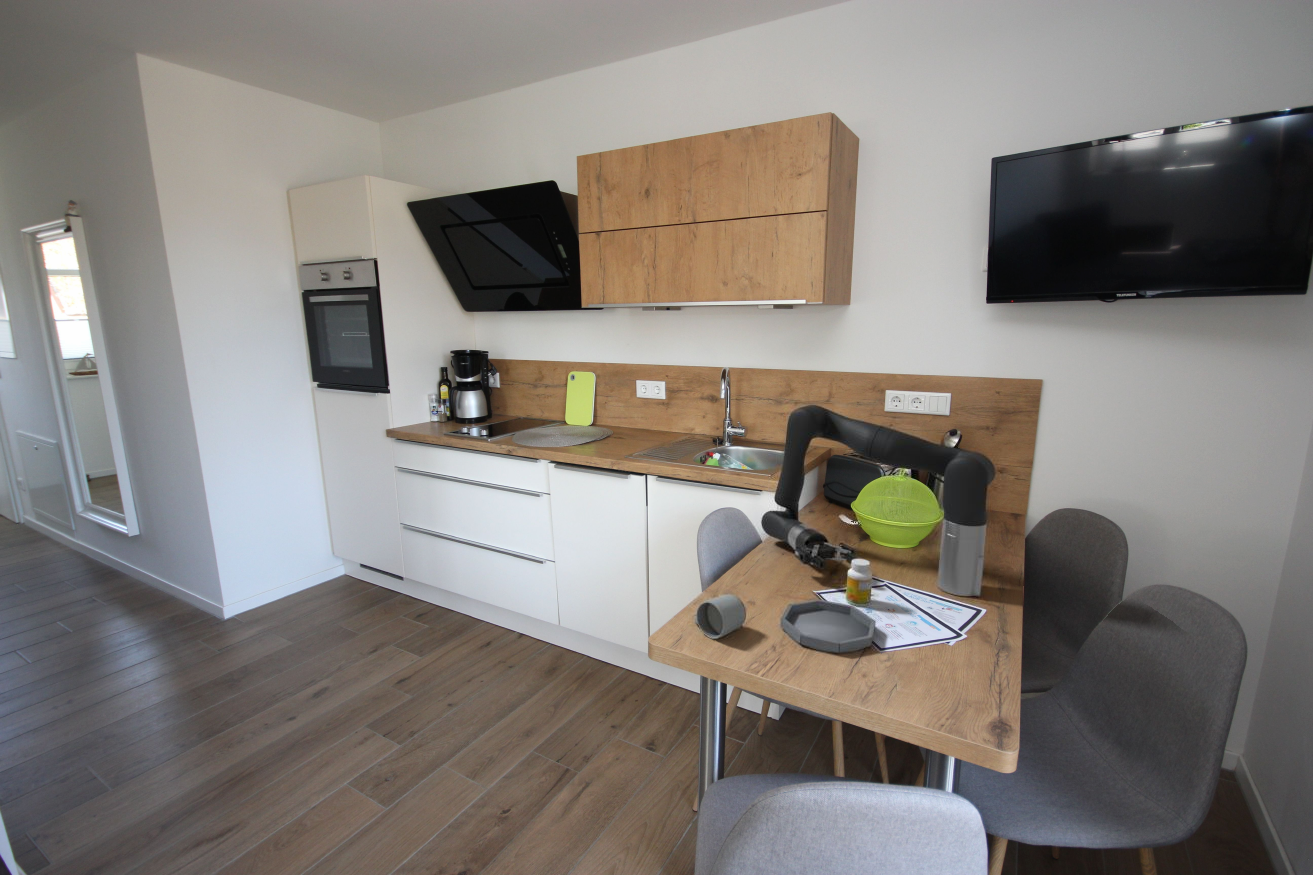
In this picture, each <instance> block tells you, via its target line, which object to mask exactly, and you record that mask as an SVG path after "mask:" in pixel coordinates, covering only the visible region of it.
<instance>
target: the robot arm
mask: <svg viewBox="0 0 1313 875" xmlns="http://www.w3.org/2000/svg"><path fill="white" fill-rule="evenodd" d="M786 424H787V425H786V432H785V433H786V434H785V435H786V437H785V443H784V444H785V445H784V446H785V447H784V452H783V459H782V460H783V461H782V465H781V470H780V475H779V478H778V483H777V486H776V490H775V493H774V496H773V497H774V498H773V499H774V502H775V503H776V505H778V506H779V507H781V508H785V510H768V511H766V512H765V513H764V514H763V515H762V517H761V520H760V523H761V528H762V530H763V531H764V532H765V534H766V535H768V536H770V537H772V538H774V539H777V540H780V541H782V542H785V543H787V545H789V546H791V548H792V549H793V550H794V557H795V558H796V559H798V561H800V562H801V563H802V565H809V564H811V565H815V566H816V568H819V569H821V570H826V569H827V568H826V566H827V565H826V564H827V562H826V560H832V561H837V562H839V561H845V562H847V563H848V564H849V565H851V562H852V560H853V559H859V558H858V556H856V549H855V548H853V547H851V546H849V545H848V544H846V543H845V542H839V543H838V545H835V544H832V543H830V542H829V540H828V539H827V537H826V536H825V535H824V534H822V533H821V532H819V531H817V530H816V529H815V528H813V527H811V526H809V525H806V524H805V523H803V522H801V521H800V520H799V510H800V509H799V507H800V505H799V503H800V499H801V496H802V492H803V489H804V485H805V484H804V483H805V479H806V478H805V476H806V475H805V474H806V473H805V460H806V455H807V452H808V449H809V447H810V444H811V443H812V442H811V441H812V440H813V439H817V438H819V439H820V438H821V439H826V440H829V441H833V442H837V443H839V444H842V445H845V446H847V447H848V448H849V449H850V450H853V452H855V453H856V454H858V455H860V456H861V457H863V458H865V459H868V460H870V461H873V462H875V463H879V464H882V465H884V466H889V467H893V468H899V469H905V470H906V469H907V470H915V471H921V472H922V471H923V472H927V473H930V474H931V473H932V474H935V475H938V476H941V477H943V484H942V486H943V487H942V502H941V504H942V505H941V506H942V510H943V519H942V529H941V530H942V531H941V538H940V540H941V541H940V552H939V561H938V572H937V583H936V585H937V587H938V589H940V591H943V592H945V593H946V594H947V593H948V594H951V595H955V596H961V597H981V593H982V592H981V591H982V581H983V575H984V574H983V572H984V565H985V564H984V563H985V556H984V553H985V544H986V534H987V525H988V524H987V523H988V516H989V515H988V514H989V513H988V511H987V496H988V487H989V486H990V484H991V483H992V482H993V481H994V479H995V477H996V466H995V465H994V463H993V461H992V460H991V459H990V458H989V457H988V456H986V455H984V454H983V453H980V452H976V451H971V450H966V449H961V448H956V447H951V446H946V445H942V444H937V443H934V442H932V441H928V440H926V439H923V438H921V437H918V436H915V435H911V434H909V433H906V432H902V431H900V430H897V429H893V428H891V427H887V426H883V425H881V424H880V425H879V424H876V423H875V424H874V423H872V422H868V421H865V420H860V419H854V418H851V417H847V416H844V415H842V414H839V413H838V412H835V411H833V410H830V409H827V408H825V407H823V406H820V405H817V404H810V405H805V406H801V407H798V408H796V409H794V410H793V411H792V412H791V413H790V415H789V416H788V419H787V423H786ZM835 555H836V556H835Z"/></svg>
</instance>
